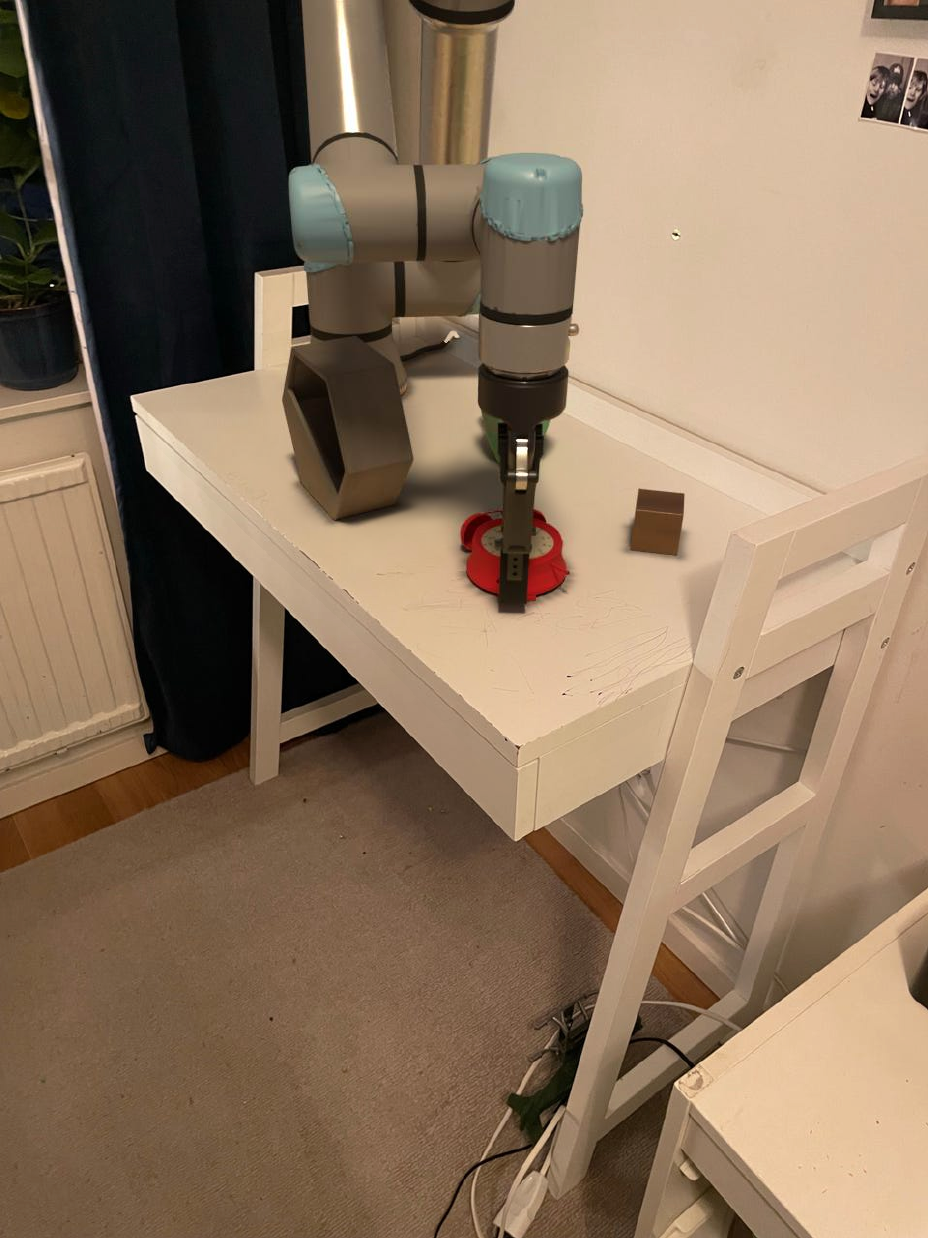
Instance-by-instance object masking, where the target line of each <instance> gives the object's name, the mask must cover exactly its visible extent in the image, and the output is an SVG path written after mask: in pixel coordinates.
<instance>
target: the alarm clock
mask: <svg viewBox="0 0 928 1238" xmlns="http://www.w3.org/2000/svg"><path fill="white" fill-rule="evenodd" d="M501 511H502V509H497V510H488V511H485V512H477V513H473V514H472V515H470V516H468V517H467V518H466V519H465V520H464V521H463V523H462V525H461V526H460V532H459V536H460V542H461V544H462V545H463V546H464V548H466V549H467V550H468V551H471V553H470V555H469V556H468V558H467V560H466V564H465V569H466V574H467V576H468V578H469V579H470V580H471V581H472V583H474V584H475V585H476V586H478V587H480V588H481V589H483V590H485V591H488V592H490V593H493V594H497V595H499V571H500V549H494V544H495V539H501V538H503V535H502V532H501V526H502V523H503V520H502V518H501V517H496V518H493V517H492V516H491V515H489V514H498V513H500V514H501ZM546 518H547V517H546V516H545V515H544V514H543V513H542V511H540V510H538V509H536V508H534V511H533V524H532V526H536V536H531V544H532V550H531V553H530V554H529V572H528V589H527V602H533V601H537V596H536V595H541V594H544V593H547V592H549V591H552V590H554V589H555V588H557V587H558V586H560V585H561V583H563V582H564V580H565V578H566V576H569V575H570V574H571V573H570V570H569V569H568V570H567V563H566V561H565V559H564V557H563V554H562V553H563V546H564V542H563V537H562V535H561V533H560V531H558V529H557V528H555V527H554V526H553V525H551V523H548V521H547V519H546Z"/></svg>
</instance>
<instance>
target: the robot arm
mask: <svg viewBox="0 0 928 1238" xmlns="http://www.w3.org/2000/svg"><path fill="white" fill-rule="evenodd" d="M407 3H408V5H409V6H410V8H411V9H412V10H413V12H415V14H416V15H418V17H419V18H420V19H421V27H420V28H421V29H420V30H421V33H420V77H419V78H420V82H419V83H420V84H419V86H420V87H419V134H418V135H419V136H418V138H419V140H418V142H419V143H418V164H399V158H398V157H399V156H398V147H397V138H396V126H395V117H394V107H393V97H392V96H393V95H392V88H391V87H392V86H391V77H390V66H389V57H388V56H389V55H388V48H387V38H386V37H387V36H386V29H385V28H386V27H385V19H384V10H383V7H384V6H383V0H301V6H302V7H301V9H302V24H303V25H302V26H303V27H302V29H303V43H304V59H305V60H304V61H305V78H306V95H307V112H308V113H307V114H308V128H309V129H308V130H309V145H310V146H309V148H310V162H311V163H309V164H308V165H303V166H296V167H294V168H293V169H291V170H290V172H289V175H288V198H289V199H288V200H289V212H290V213H289V214H290V222H291V223H290V225H291V233H292V234H291V235H292V241H293V247H294V252H295V253H296V255H297V256H298V258H300V260H302V261H304V263H303V271H304V272H305V276H306V277H305V278H306V289H307V300H308V301H307V303H308V317H309V327H310V342H309V344H310V343H316V342H322V341H328V340H334V339H339V338H345V337H351V336H356V337H358V338H359V339H361V340H362V341H363V342H365V343H366V344H368V345H369V346H370V347H372V348H373V349H374V350H376V351H377V352H379V353H380V354H381V355H383V356H384V357H386V358H387V359H388V360H390V361H391V362H393V363H394V365H395V369H396V374H397V379H398V384H399V389H400V394H401V396H402V395H404V394H405V392H406V390H407V385H408V384H407V374H406V369H405V367H404V366H403V363H405V362H409V361H411V360H414V359H416V358H418V357H420V356H421V355H424V354H427V353H431V352H437V351H439V350H442V349H444V348H445V347H447V346H448V345H449V343H450V342H451V341H448V342H447V343H445V342H444V341H443V340H441V342H438V343H435V344H429V345H426V346H423V347H419V348H417V349H416V350H414V351H412V352H410V353H407V354H403V355H400V352H399V350H398V347H397V345H396V344H397V343H396V342H395V339H394V335H393V319H394V318H428V317H433V318H434V317H458V318H462V317H466V316H471V315H472V316H473V315H478V335H477V336H478V337H477V338H478V339H477V347H478V348H477V357H478V358H477V359H478V360H479V361H480V362H481V364H480V365H479V367H478V370H477V371H478V373H477V405H478V408H479V409H480V411H481V410H482V411H483V412H484V413H485V414H486V415H488V416H490V417H492V418H494V419H497V420H498V419H500V420H502V421H503V422H498V433H497V439H498V455H499V463H498V464H499V465H498V466H499V482H500V483H501V484H502V506H501V507H502V508H501V510H502V511H501V513H500V518H502V520H503V523H502V526H501V532H502V535H503V538H501V539H495V544H494V549H500V571H499V594H498V605H525V606H526V605H527V602H528V601H527V589H528V572H529V554H530V553H531V550H532V544H531V536H536V526H532V524H533V511H534V509H535V500H536V499H535V496H536V488H537V484H538V483H539V481H540V467H541V466H540V465H541V458H542V457H543V456H544V448H545V437H544V435H542V431H543V424H542V423H540V422H543V421H545V420H547V421H548V420H550V421H551V420H554V419H556V418H557V417H559V416H560V415H562V414H563V413H564V411H565V409H566V407H567V401H568V388H569V387H568V386H569V373H570V372H569V369H568V368H567V366H566V364H567V363H568V362H569V361H570V351H571V339H570V337H576V336H578V335H579V334H580V327H579V324H578V323H572V321H573V314H574V313H573V312H574V304H575V303H574V302H575V290H576V281H577V280H576V278H577V268H578V267H577V265H578V254H579V242H580V241H579V240H580V231H581V230H580V229H581V223H582V218H583V217H584V204H583V203H582V202H583V201H582V200H583V172H582V169H581V167H580V165H579V163H577V161H575V160H573V159H572V158H570V157H567V156H561V155H558V154H555V153H547V152H546V153H545V152H514V153H506V154H505V153H504V154H500V155H497V156H490V157H489V149H490V148H489V147H490V136H491V124H492V111H493V99H494V86H495V77H496V76H495V75H496V64H497V51H498V41H499V29H500V24H502V23H503V22H504V21H505V20H506V19H507V18H509V17H510V16H511V14H513V11H514V9H515V6H516V5H515V3H516V0H407Z"/></svg>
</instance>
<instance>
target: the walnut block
mask: <svg viewBox="0 0 928 1238" xmlns="http://www.w3.org/2000/svg"><path fill="white" fill-rule="evenodd" d="M685 494H686V493H685V492H675V491H666V490H665V491H664V490H656V489H646V488H638V489H637V496H636V497H637V498H636V503H635V511H634V512H635V513H634V520H633V526H632V527H633V528H632V534H631V543H630V551H635V552H644V553H652V554H653V553H654V554H663V555H672V556H677V555H678V552H679V546H680V540H681V534H682V528H683V522H684V517H685V516H684V515H685Z"/></svg>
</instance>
